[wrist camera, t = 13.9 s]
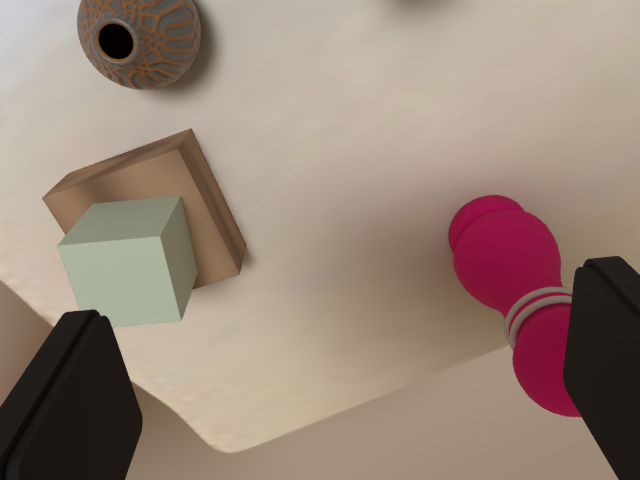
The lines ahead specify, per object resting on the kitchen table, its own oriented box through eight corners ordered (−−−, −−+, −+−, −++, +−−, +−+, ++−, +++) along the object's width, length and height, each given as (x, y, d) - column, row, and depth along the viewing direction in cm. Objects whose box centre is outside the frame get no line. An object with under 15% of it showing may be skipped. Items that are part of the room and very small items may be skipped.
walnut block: (192, 127, 40) (177, 148, 36) (246, 242, 45) (239, 274, 40) (70, 171, 42) (42, 198, 37) (134, 279, 46) (116, 314, 42)
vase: (181, 95, 39) (149, 131, 31) (86, 41, 37) (27, 64, 29) (227, 4, 36) (205, 18, 28) (127, -59, 34) (75, -63, 27)
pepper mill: (552, 224, 44) (717, 408, 26) (484, 285, 47) (594, 490, 29) (490, 170, 42) (624, 331, 24) (423, 236, 44) (500, 427, 27)
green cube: (180, 195, 37) (159, 236, 32) (197, 272, 40) (181, 321, 35) (92, 203, 37) (57, 245, 32) (115, 279, 40) (86, 329, 35)
